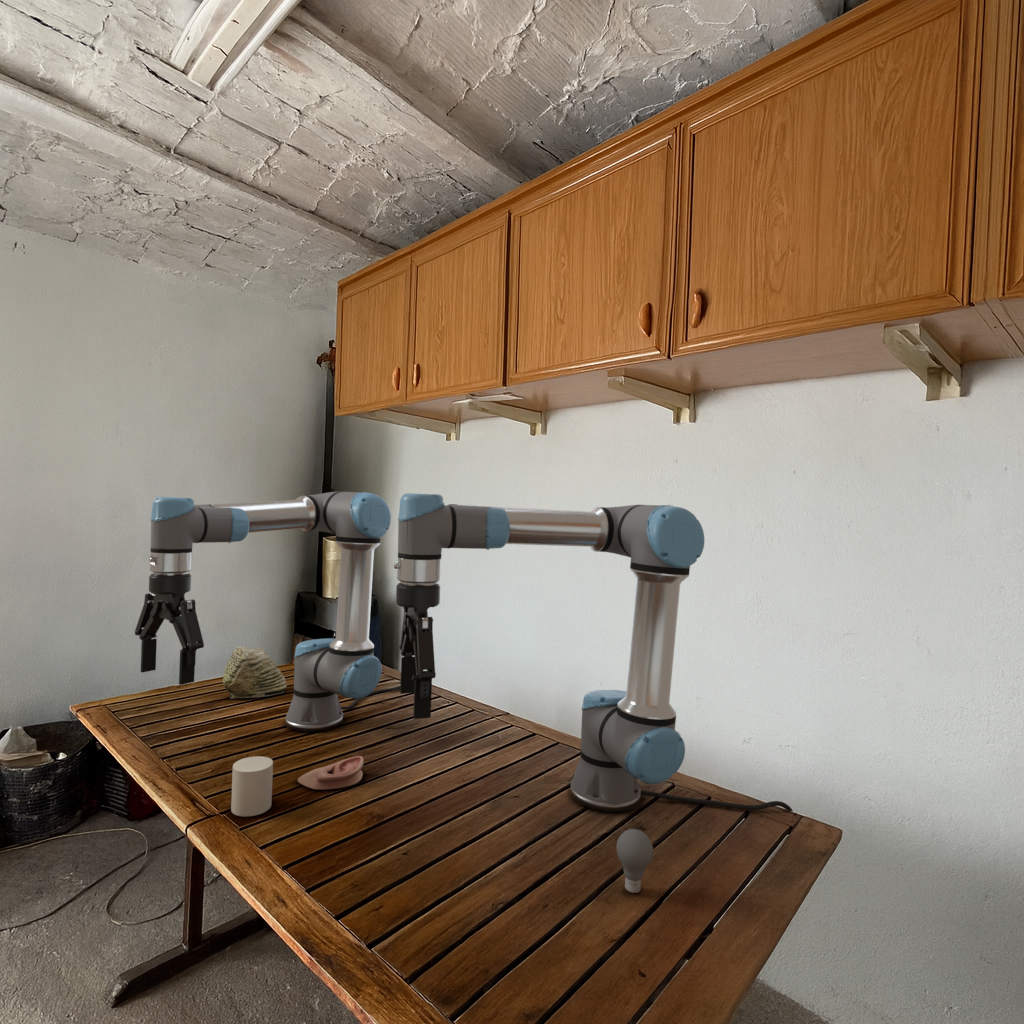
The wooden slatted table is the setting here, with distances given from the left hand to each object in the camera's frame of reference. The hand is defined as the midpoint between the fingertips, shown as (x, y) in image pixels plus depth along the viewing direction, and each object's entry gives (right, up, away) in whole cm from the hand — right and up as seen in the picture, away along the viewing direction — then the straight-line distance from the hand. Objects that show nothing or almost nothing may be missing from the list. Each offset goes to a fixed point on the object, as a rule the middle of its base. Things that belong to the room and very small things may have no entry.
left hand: (166, 677), depth 129 cm
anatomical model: (+30, -26, +13) cm, 42 cm away
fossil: (-10, -24, +69) cm, 74 cm away
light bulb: (+90, -30, -23) cm, 98 cm away
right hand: (+53, 0, -19) cm, 57 cm away
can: (+18, -26, -1) cm, 32 cm away
